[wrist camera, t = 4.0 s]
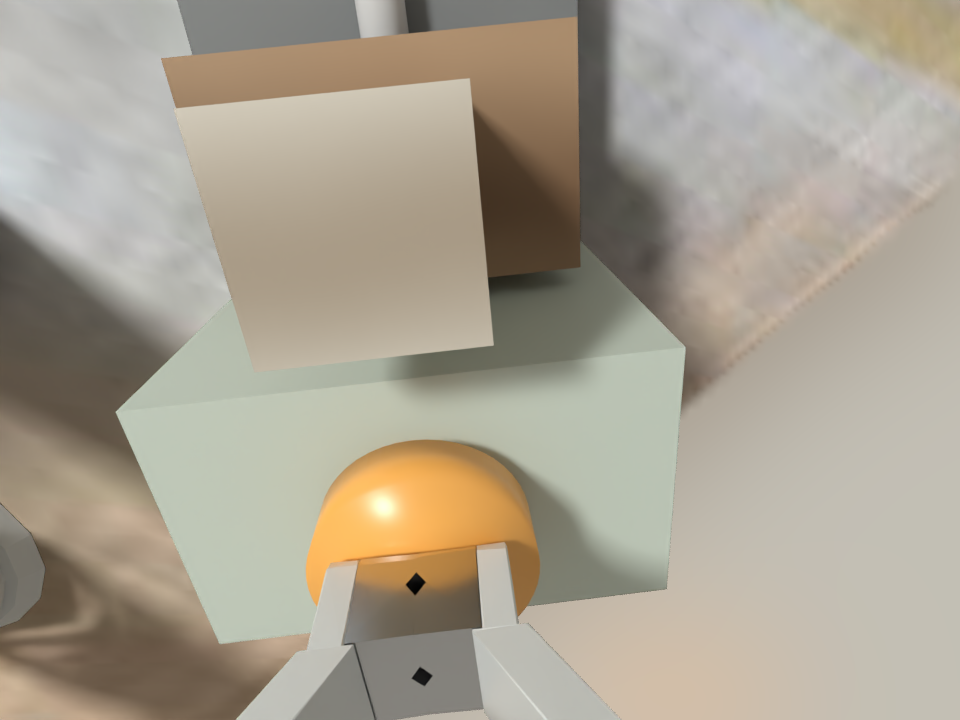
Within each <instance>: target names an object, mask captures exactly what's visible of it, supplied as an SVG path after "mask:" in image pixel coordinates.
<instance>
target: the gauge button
mask: <svg viewBox="0 0 960 720" xmlns="http://www.w3.org/2000/svg"><path fill="white" fill-rule="evenodd" d="M501 542H505V543H506V545H507V549H508V556H509V562H510V569H511V575H512V582H513V589H514V595H515V602H516V608H517V615H518V616H519V615H520V614H521V613H522V611H523V610H524V609H525V608H526V607H527V605H528V604H529V602H530V600H531V598H532V597H533V595H534V592H535V590H536V587H537V585H538V580H539V575H540V558H539V551H538V547H537V542H536V538H535V533H534V528H533V524H532V519H531V515H530V510H529V506H528V502H527V499H526V496H525V493H524V492H523V490H522V488H521V486H520V484H519V483H518V481H517V480H516V479H515V477H514V476H513V475H512V474H511V473H510V472H509V471H508V470H507V469H506V468H505V467H504V466H503V465H502V464H501V463H499V462H498V461H497V460H495V459H494V458H492V457H490V456H489V455H487V454H485V453H483V452H481V451H479V450H477V449H474V448H472V447H469V446H466V445H462V444H459V443H455V442H449V441H443V440H410V441H405V442H399V443H394V444H391V445H387V446H384V447H381V448H379V449H376V450H374V451H372V452H369V453H367V454H366V455H364V456H362V457H361V458H359V459H357V460H356V461H354V462H353V463H352V464H350V465H349V466H348V467H347V468H346V469H345V470H344V471H343V472H342V473H341V474H340V475H339V476H338V477H337V478H336V479H335V481H334V482H333V483H332V485H331V486H330V488H329V490H328V492H327V493H326V495H325V498H324V501H323V504H322V507H321V510H320V514H319V517H318V521H317V524H316V528H315V531H314V535H313V538H312V542H311V545H310V549H309V552H308V556H307V562H306V581H307V585H308V590H309V592H310V595H311V597H312V599H313V602H314V603H315V605H316V606H318V602H319V597H320V593H321V589H322V585H323V581H324V577H325V573H326V570H327V568H328V567H329V565H330V563H333V562H344V561H355V560H361V559H369V558H379V557H390V556H400V555H411V554H419V553H425V552H433V551H440V550H448V549H456V548H464V547H471V546H476V551H477V546H478V545H485V544H493V543H501Z"/></svg>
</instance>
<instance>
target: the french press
mask: <svg viewBox="0 0 960 720" xmlns="http://www.w3.org/2000/svg"><path fill="white" fill-rule="evenodd" d="M44 574H45V566H44V564H43V561H42V559H41V556H40V554H39V552H38V549H37V547H36V545H35V542H34V540H33V537H32V535H31V534H30V533H29V532H28V531H27V530H26V529H25V528H24V527H23V526H22V525H21V524H20V523H19V522H18V521H17V520H16V519H15V518H14V517H13V516H12V515H11V514H10V513H9V512H8V511H7V510H6V509H5V508H4V507H3V506H2V505H1V504H0V627H2V626H5V625H8V624H11V623H13V622H16V621H18V620H19V619H20V618H21V617H22V616H23V615H24V614H25V613H26V612H27V611H28V610H29V609H30V608H31V607H32V606H33V605H34V604H35V603H36V602H37V601H38V600H39V599H40V598H41V592H42V586H43V580H44Z"/></svg>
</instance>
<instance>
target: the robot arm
mask: <svg viewBox="0 0 960 720" xmlns="http://www.w3.org/2000/svg"><path fill="white" fill-rule="evenodd" d="M480 709H484V713H485V714H486V716H487V717H488V719H489V720H621V719H620V718H619V717H618V716H617V714H615V712H614V711H613V710H612V709H611V708H610V707H609V706H608V705H607V704H606V703H605V702H604V701H603V700H602V699H601V698H600V697H599V696H598V695H597V694H596V693H595V692H594V691H593V690H592V689H591V688H590V687H589V686H588V684H587V683H586V682H585V681H583V679H582V678H581V677H580V676H579V675H578V674H577V673H576V672H575V671H574V670H573V669H572V668H571V667H570V666H569V665H568V664H567V663H566V662H565V661H564V660H563V659H562V658H561V657H560V655H559V654H558V653H557V652H556V651H555V650H554V649H553V648H552V647H551V646H550V645H549V644H548V643H547V642H546V641H545V640H544V639H543V638H542V637H541V636H540V635H539V634H538V633H537V632H536V631H535V630H534V629H533V628H532V627H531V625H530V624H528V623H523V624H519V621H518V615H517V608H516V602H515V595H514V589H513V582H512V575H511V569H510V562H509V556H508V549H507V545H506V543H505V542H501V543H493V544H485V545H478V546H477V551H476V546H471V547H464V548H456V549H448V550H440V551H433V552H425V553H419V554H411V555H400V556H390V557H379V558H369V559H361V560H355V561H344V562H333V563H330V565H329V567H328V568H327V570H326V573H325V577H324V581H323V585H322V589H321V593H320V597H319V602H318V606H317V610H316V614H315V618H314V622H313V626H312V630H311V635H310V639H309V643H308V647H307V650H303V651H297V652H296V653H295V654H294V656H293V657H292V658H291V659H290V660H289V661H288V662H287V663H286V664H285V666H284V667H283V668H282V669H281V670H280V671H279V672H278V673H277V674H276V676H275V677H274V678H273V679H272V680H271V681H270V682H269V683H268V684H267V686H266V687H265V688H264V689H263V690H262V691H261V692H260V693H259V694H258V695H257V697H256V698H255V699H254V700H253V701H252V702H251V703H250V704H249V705H248V707H247V708H246V709H245V710H244V711H243V712H242V713H241V714H240V715H239V717H238V718H237V719H236V720H397V719H403V718H409V717H416V716H422V715H429V714H438V713H448V712H459V711H470V710H480Z"/></svg>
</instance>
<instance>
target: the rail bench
mask: <svg viewBox="0 0 960 720" xmlns="http://www.w3.org/2000/svg"><path fill="white" fill-rule="evenodd" d="M177 1H178V5H179V8H180V12H181V15H182V19H183V23H184V26H185V30H186V33H187V37H188V40H189V44H190V47H191V51H192V54H193V55H201V54H211V53H221V52H230V51H240V50H250V49H260V48H270V47H280V46H290V45H300V44H310V43H320V42H330V41H340V40H350V39H360V38H369V37H379V36H389V35H399V34H409V33H419V32H429V31H439V30H449V29H459V28H469V27H479V26H489V25H499V24H508V23H518V22H528V21H538V20H548V19H558V18H568V17H577V23H578V5H577V0H177ZM578 102H579V85H578ZM579 181H580V165H579ZM580 260H581V267H579V268H570V269H561V270H552V271H543V272H534V273H524V274H515V275H506V276H497V277H488V287H489V298H490V309H491V320H492V331H493V342H494V346H485V347H476V348H467V349H458V350H450V351H441V352H432V353H423V354H414V355H405V356H396V357H388V358H379V359H370V360H361V361H352V362H343V363H334V364H326V365H317V366H308V367H299V368H290V369H281V370H272V371H264V372H254V369H253V366H252V363H251V359H250V356H249V353H248V350H247V346H246V343H245V340H244V337H243V333H242V330H241V327H240V324H239V320H238V317H237V314H236V311H235V307H234V304H233V301H232V299H231V300H230V301H229V302H228V303H227V304H226V305H225V306H224V307H223V308H222V309H221V310H220V311H219V312H218V313H217V314H216V315H214V316H213V317H212V318H211V319H210V320H209V321H208V322H207V323H206V324H205V325H204V326H203V327H202V328H201V329H200V330H199V331H198V332H197V333H196V334H195V335H194V336H193V337H192V338H191V339H190V340H189V341H188V342H187V343H186V344H185V345H184V346H183V347H182V348H181V349H180V350H179V351H178V352H177V353H176V354H174V355H173V356H172V357H171V358H170V359H169V360H168V361H167V362H166V363H165V364H164V365H163V366H162V367H161V368H160V369H159V370H158V371H157V372H156V373H155V374H154V375H153V376H152V377H151V378H150V379H149V380H148V381H147V382H146V383H145V384H144V385H143V386H142V387H141V388H140V389H139V390H138V391H137V392H136V393H134V394H133V395H132V396H131V397H130V398H129V399H128V400H127V401H126V402H125V403H124V404H123V405H122V406H121V407H120V408H119V409H118V410H117V411H116V414H117V416H118V419H119V421H120V423H121V425H122V428H123V430H124V432H125V434H126V437H127V439H128V441H129V443H130V445H131V448H132V450H133V452H134V454H135V457H136V459H137V461H138V463H139V466H140V468H141V470H142V472H143V474H144V477H145V479H146V481H147V483H148V486H149V488H150V490H151V492H152V495H153V497H154V499H155V501H156V503H157V506H158V508H159V510H160V512H161V515H162V517H163V519H164V521H165V524H166V526H167V528H168V530H169V532H170V535H171V537H172V539H173V541H174V544H175V546H176V548H177V550H178V553H179V555H180V557H181V559H182V561H183V564H184V566H185V568H186V570H187V573H188V575H189V577H190V579H191V582H192V584H193V586H194V588H195V590H196V593H197V595H198V597H199V599H200V602H201V604H202V606H203V608H204V610H205V613H206V615H207V617H208V619H209V622H210V624H211V626H212V628H213V631H214V633H215V635H216V637H217V639H218V642H219V644H224V643H232V642H241V641H249V640H257V639H265V638H273V637H281V636H289V635H298V634H306V633H311V630H312V626H313V622H314V618H315V614H316V610H317V606H316V605H315V603H314V602H313V599H312V597H311V595H310V592H309V590H308V585H307V581H306V562H307V556H308V552H309V549H310V545H311V542H312V538H313V535H314V531H315V528H316V524H317V521H318V517H319V514H320V510H321V507H322V504H323V501H324V498H325V495H326V493H327V492H328V490H329V488H330V486H331V485H332V483H333V482H334V481H335V479H336V478H337V477H338V476H339V475H340V474H341V473H342V472H343V471H344V470H345V469H346V468H347V467H348V466H349V465H350V464H352V463H353V462H354V461H356V460H357V459H359V458H361V457H362V456H364V455H366V454H367V453H369V452H372V451H374V450H376V449H379V448H381V447H384V446H387V445H391V444H394V443H399V442H405V441H410V440H443V441H449V442H455V443H459V444H462V445H466V446H469V447H472V448H474V449H477V450H479V451H481V452H483V453H485V454H487V455H489V456H490V457H492V458H494V459H495V460H497V461H498V462H499V463H501V464H502V465H503V466H504V467H505V468H506V469H507V470H508V471H509V472H510V473H511V474H512V475H513V476H514V477H515V479H516V480H517V481H518V483H519V484H520V486H521V488H522V490H523V492H524V493H525V496H526V499H527V502H528V506H529V510H530V515H531V519H532V524H533V528H534V533H535V538H536V542H537V547H538V551H539V558H540V575H539V580H538V585H537V587H536V590H535V592H534V595H533V597H532V598H531V600H530V602H529V604H528V605H527V606H534V605H541V604H550V603H558V602H566V601H574V600H582V599H591V598H598V597H606V596H615V595H623V594H631V593H639V592H646V591H647V592H648V591H656V590H664V589H667V578H668V565H669V552H670V539H671V526H672V514H673V502H674V488H675V476H676V464H677V451H678V438H679V426H680V413H681V400H682V388H683V375H684V362H685V350H686V347H685V346H684V345H683V344H682V343H681V342H680V341H679V340H678V339H677V338H676V337H675V336H674V335H673V334H672V333H671V332H670V331H669V330H668V329H667V328H666V327H665V326H664V325H663V324H662V323H661V322H660V321H659V320H658V319H657V318H656V317H655V316H654V315H653V313H652V312H651V311H650V310H649V309H648V308H647V307H646V306H645V305H644V304H643V303H642V302H641V301H640V300H639V299H638V298H637V297H636V296H635V295H634V294H633V293H632V292H631V291H630V290H629V289H628V288H627V287H626V286H625V285H624V284H623V283H622V282H621V281H620V280H619V279H618V278H617V277H616V276H615V275H614V274H613V273H612V272H611V271H610V270H609V269H608V268H607V267H606V266H605V265H604V264H603V263H602V262H601V261H600V260H599V259H598V258H597V257H596V256H595V255H594V254H593V253H592V252H591V251H590V250H589V249H588V248H587V247H586V246H585V245H584V244H583V243H582V242H581V240H580Z"/></svg>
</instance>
